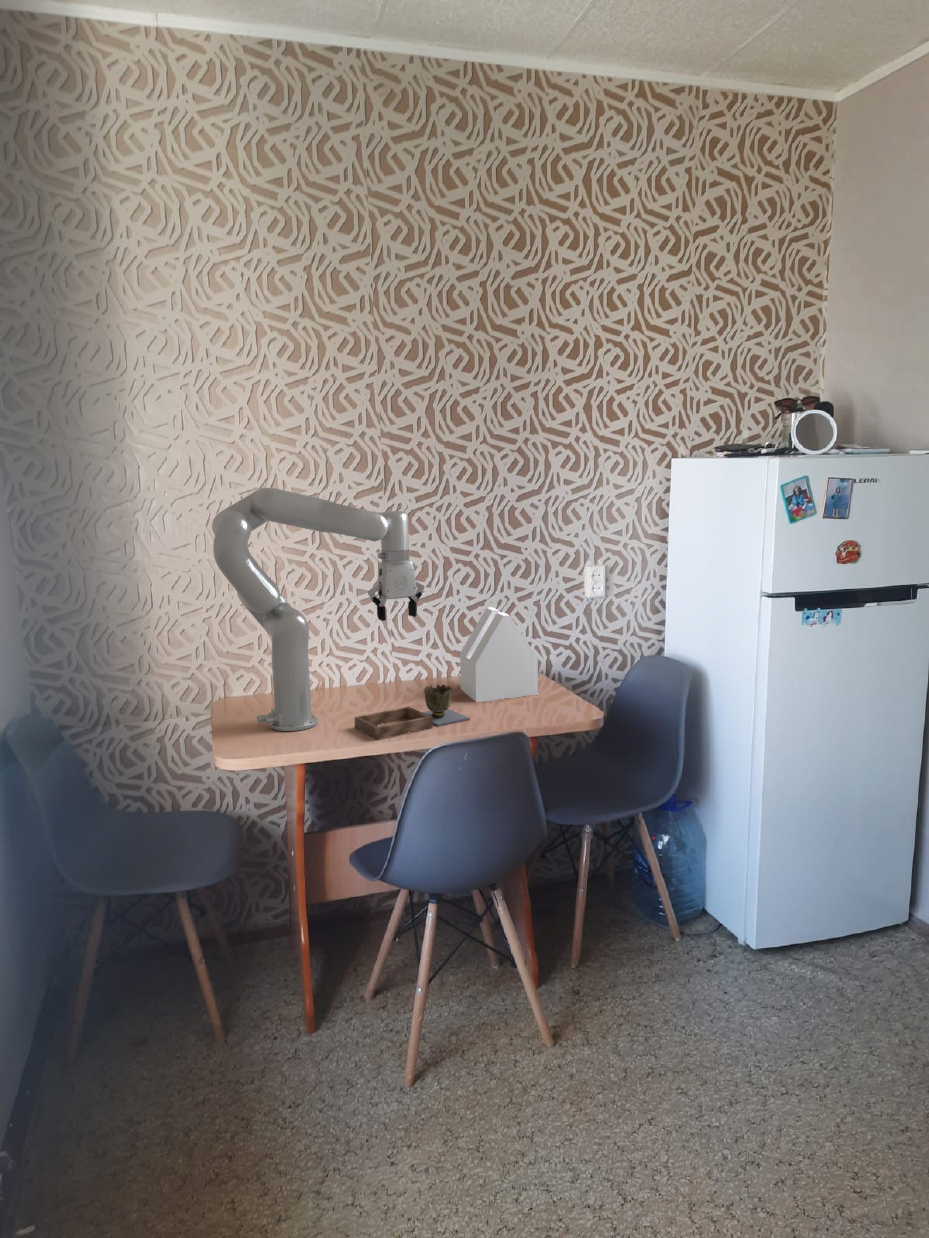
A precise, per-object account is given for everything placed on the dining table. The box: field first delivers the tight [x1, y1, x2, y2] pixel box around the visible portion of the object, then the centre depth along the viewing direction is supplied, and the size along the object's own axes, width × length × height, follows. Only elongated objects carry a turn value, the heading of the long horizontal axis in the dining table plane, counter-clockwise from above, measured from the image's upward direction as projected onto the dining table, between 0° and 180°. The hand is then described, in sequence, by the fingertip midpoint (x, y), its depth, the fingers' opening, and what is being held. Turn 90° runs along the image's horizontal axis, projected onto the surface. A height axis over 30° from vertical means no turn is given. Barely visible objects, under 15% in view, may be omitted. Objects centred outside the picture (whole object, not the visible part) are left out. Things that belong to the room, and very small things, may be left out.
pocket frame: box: [354, 706, 434, 740], centre depth 221 cm, size 16×12×3 cm
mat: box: [421, 708, 470, 728], centre depth 230 cm, size 10×12×1 cm
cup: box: [423, 684, 452, 718], centre depth 228 cm, size 8×7×8 cm
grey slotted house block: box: [459, 606, 539, 703], centre depth 253 cm, size 19×15×25 cm
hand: (397, 618), depth 234 cm, fingers open, 9 cm apart
